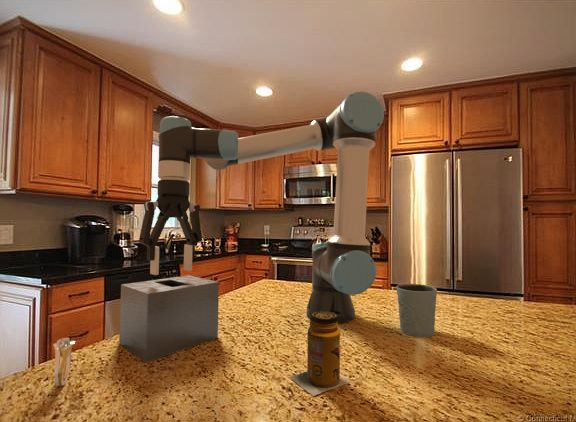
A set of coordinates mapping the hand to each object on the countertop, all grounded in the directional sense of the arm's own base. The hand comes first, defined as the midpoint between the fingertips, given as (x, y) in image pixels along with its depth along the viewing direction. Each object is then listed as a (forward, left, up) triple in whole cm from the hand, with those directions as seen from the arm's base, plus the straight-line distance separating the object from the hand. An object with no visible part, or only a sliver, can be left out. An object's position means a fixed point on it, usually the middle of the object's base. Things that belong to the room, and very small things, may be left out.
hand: (171, 271), depth 75 cm
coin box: (0, 0, -17) cm, 17 cm away
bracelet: (-5, +23, -17) cm, 29 cm away
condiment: (-38, -9, -17) cm, 43 cm away
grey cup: (-43, -48, -17) cm, 67 cm away
